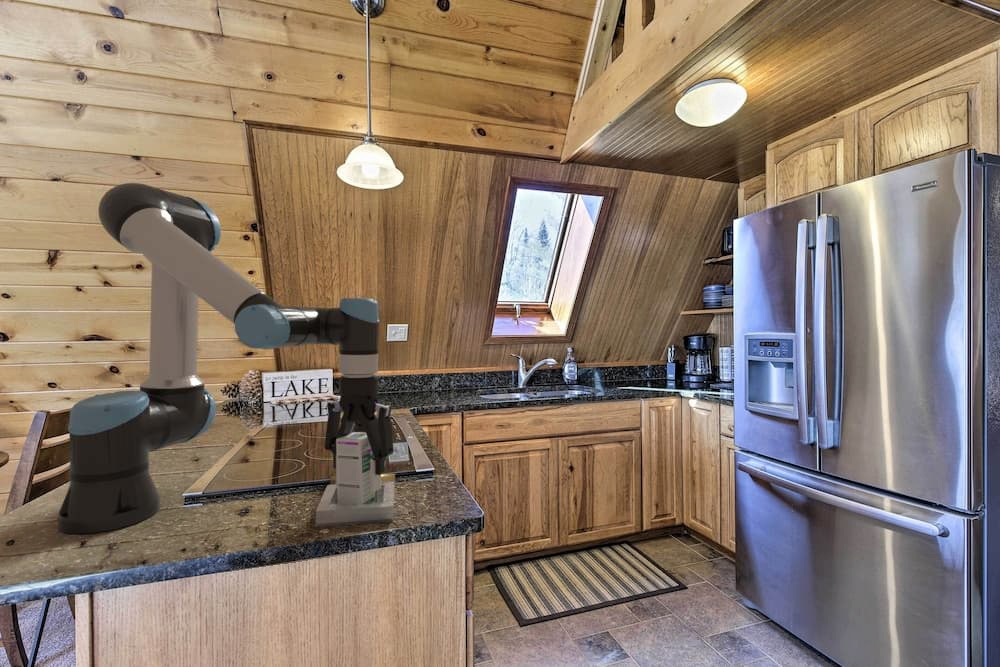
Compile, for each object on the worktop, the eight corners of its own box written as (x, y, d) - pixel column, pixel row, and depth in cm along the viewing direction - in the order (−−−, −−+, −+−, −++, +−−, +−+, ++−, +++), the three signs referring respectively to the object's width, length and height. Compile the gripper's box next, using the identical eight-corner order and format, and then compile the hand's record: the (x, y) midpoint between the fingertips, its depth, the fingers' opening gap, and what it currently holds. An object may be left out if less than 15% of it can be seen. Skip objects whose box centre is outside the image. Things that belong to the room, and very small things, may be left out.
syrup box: (362, 512, 93) (361, 439, 93) (336, 509, 95) (335, 437, 94) (377, 502, 98) (377, 432, 98) (353, 499, 100) (352, 430, 100)
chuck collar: (315, 527, 88) (315, 511, 88) (327, 498, 102) (327, 484, 102) (392, 521, 91) (393, 506, 91) (394, 494, 105) (394, 481, 105)
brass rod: (330, 492, 105) (330, 479, 105) (332, 487, 108) (332, 474, 108) (394, 489, 108) (394, 476, 108) (394, 484, 111) (395, 471, 111)
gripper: (413, 375, 96) (411, 487, 97) (329, 370, 102) (329, 475, 103) (393, 380, 89) (392, 500, 90) (304, 374, 95) (304, 487, 96)
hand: (358, 487), depth 96 cm, fingers open, 7 cm apart
